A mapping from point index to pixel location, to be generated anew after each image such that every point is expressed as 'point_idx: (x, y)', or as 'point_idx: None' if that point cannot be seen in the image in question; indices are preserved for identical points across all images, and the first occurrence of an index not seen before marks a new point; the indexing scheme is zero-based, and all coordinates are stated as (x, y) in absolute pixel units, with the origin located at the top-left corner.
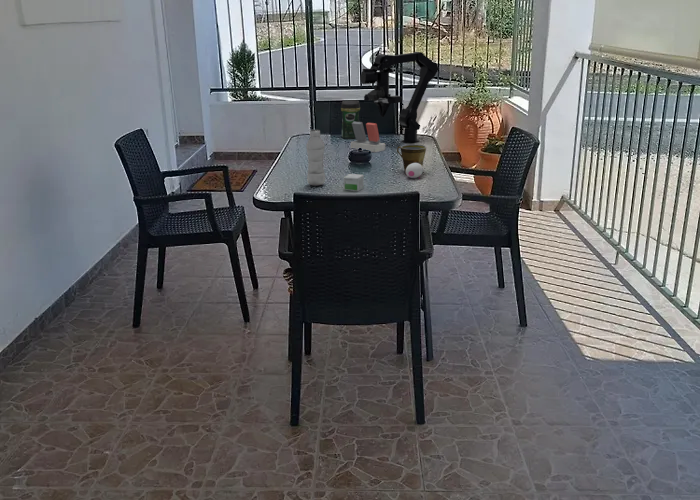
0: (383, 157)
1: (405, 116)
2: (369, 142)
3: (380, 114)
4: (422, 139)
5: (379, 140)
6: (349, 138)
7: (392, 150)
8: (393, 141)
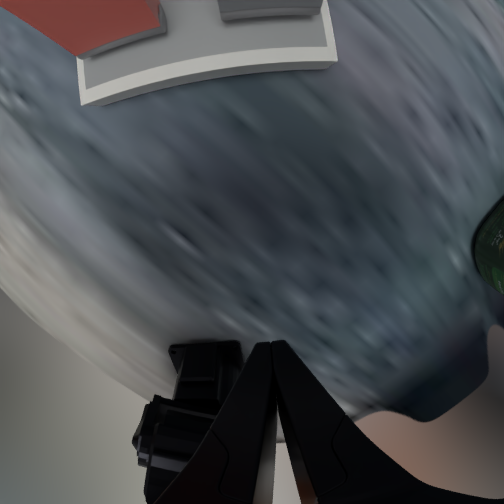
0: (8, 19)
1: (156, 462)
2: (190, 31)
3: (301, 360)
4: None
5: (76, 54)
6: (499, 206)
7: (72, 138)
8: (282, 322)
